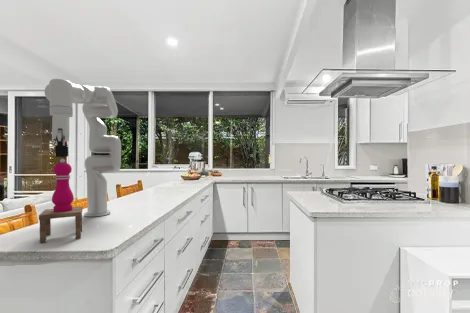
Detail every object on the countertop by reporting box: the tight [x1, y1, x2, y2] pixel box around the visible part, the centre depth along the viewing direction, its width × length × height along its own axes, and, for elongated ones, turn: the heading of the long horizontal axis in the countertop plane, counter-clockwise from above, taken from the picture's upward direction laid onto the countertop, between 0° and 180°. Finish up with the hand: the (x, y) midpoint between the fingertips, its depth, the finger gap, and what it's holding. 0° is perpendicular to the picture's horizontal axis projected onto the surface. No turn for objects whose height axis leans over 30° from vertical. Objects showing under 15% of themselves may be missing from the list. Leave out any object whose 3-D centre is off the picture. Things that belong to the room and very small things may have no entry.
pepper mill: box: [51, 158, 75, 212], centre depth 108 cm, size 7×7×20 cm
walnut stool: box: [38, 206, 83, 244], centre depth 108 cm, size 13×13×10 cm
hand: (62, 156), depth 108 cm, fingers open, 9 cm apart
